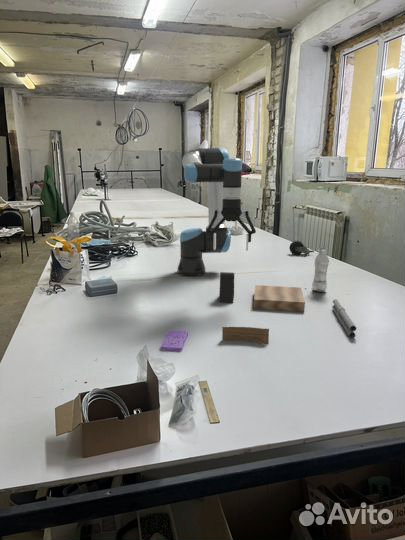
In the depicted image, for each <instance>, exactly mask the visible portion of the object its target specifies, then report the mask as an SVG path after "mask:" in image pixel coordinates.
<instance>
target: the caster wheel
mask: <svg viewBox="0 0 405 540" xmlns="http://www.w3.org/2000/svg"><path fill="white" fill-rule="evenodd" d="M289 251H290V253H291V254H292V255H294V256H299V255H301V254H304V256H305V257H306V256H308V255H310V253H314V252H315V250H311V249H309V248H308V246H307V245H305V244H304V243H303V242H302V241H301V240H293V241H291V243H290V244H289Z"/></svg>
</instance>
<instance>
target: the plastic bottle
mask: <svg viewBox="0 0 405 540" xmlns="http://www.w3.org/2000/svg"><path fill="white" fill-rule="evenodd" d="M327 254H328V248H323V247H319V248H318V252H317V255H316V256H315V258H314V275H313V281H312V283H311V287H312V290H313V291H314V292H317V293H323V292H325V291H326V290H327V288H328V287H327V284H328V283H327V274H328V273H327V272H328V268H329V263H330V259H329V257H328V255H327Z"/></svg>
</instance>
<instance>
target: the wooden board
mask: <svg viewBox="0 0 405 540" xmlns="http://www.w3.org/2000/svg"><path fill="white" fill-rule="evenodd" d="M253 298H254V299H253V309H254V310H255V309H256V310H271V311H272V310H273V311H284V312H285V311H287V312H302V313H304V312H305V307H306V306H305V305H306V301H305V297H304V293H303V290H302V287H299V286H298V287H297V286H296V287H295V286H281V285H279V286H277V285H259V284H255V289H254V297H253Z"/></svg>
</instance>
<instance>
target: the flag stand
mask: <svg viewBox="0 0 405 540" xmlns="http://www.w3.org/2000/svg"><path fill="white" fill-rule="evenodd" d="M242 204H244V202H241V205H242ZM227 227H228V230H229V231H230V232H231V234H232V235H231V236H241V235H240V234H242V235H243V234H244V233H243V232H244V231H245V229H244V228H243V227H242V226H241V225H240V226H239V225H238V221H235V222H234V225H232V227H231V226H227Z"/></svg>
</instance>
